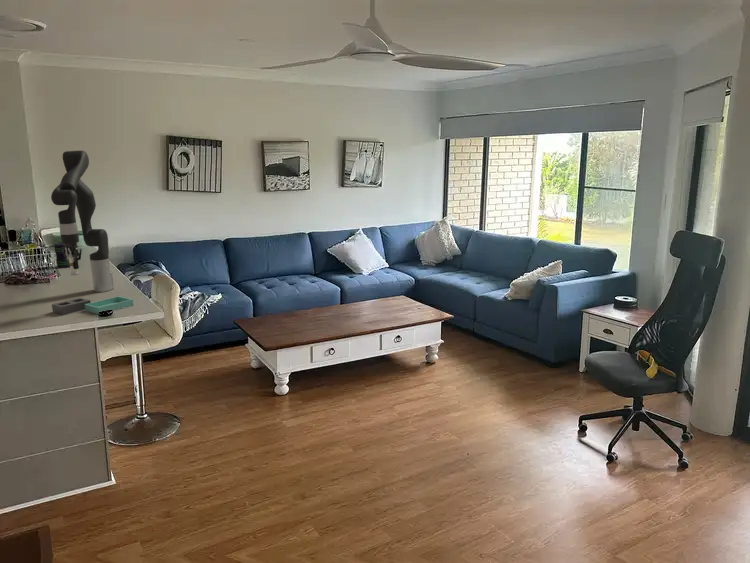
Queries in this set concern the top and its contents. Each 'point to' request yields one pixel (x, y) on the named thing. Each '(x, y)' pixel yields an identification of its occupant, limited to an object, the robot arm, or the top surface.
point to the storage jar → (60, 256)
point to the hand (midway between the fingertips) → (74, 268)
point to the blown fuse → (73, 271)
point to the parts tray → (108, 304)
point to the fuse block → (70, 306)
